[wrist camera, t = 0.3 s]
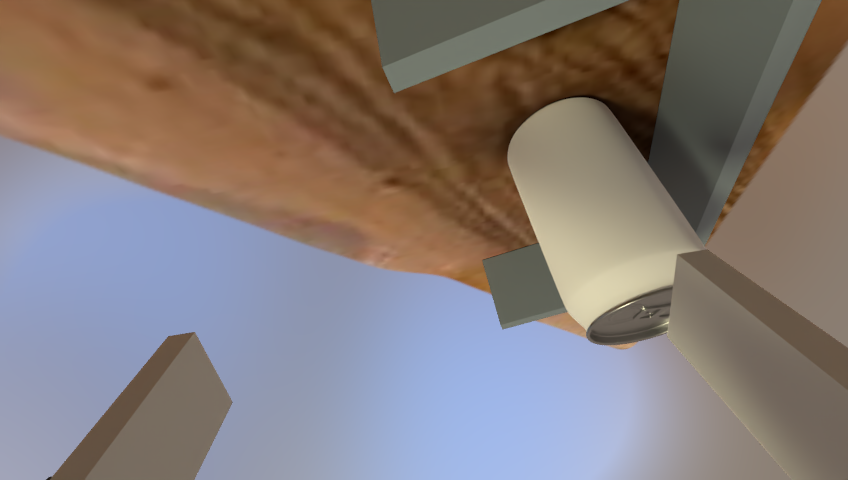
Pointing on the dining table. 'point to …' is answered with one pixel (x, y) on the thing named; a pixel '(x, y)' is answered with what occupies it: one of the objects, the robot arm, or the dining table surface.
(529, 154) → the can
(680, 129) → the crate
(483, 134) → the dining table surface
